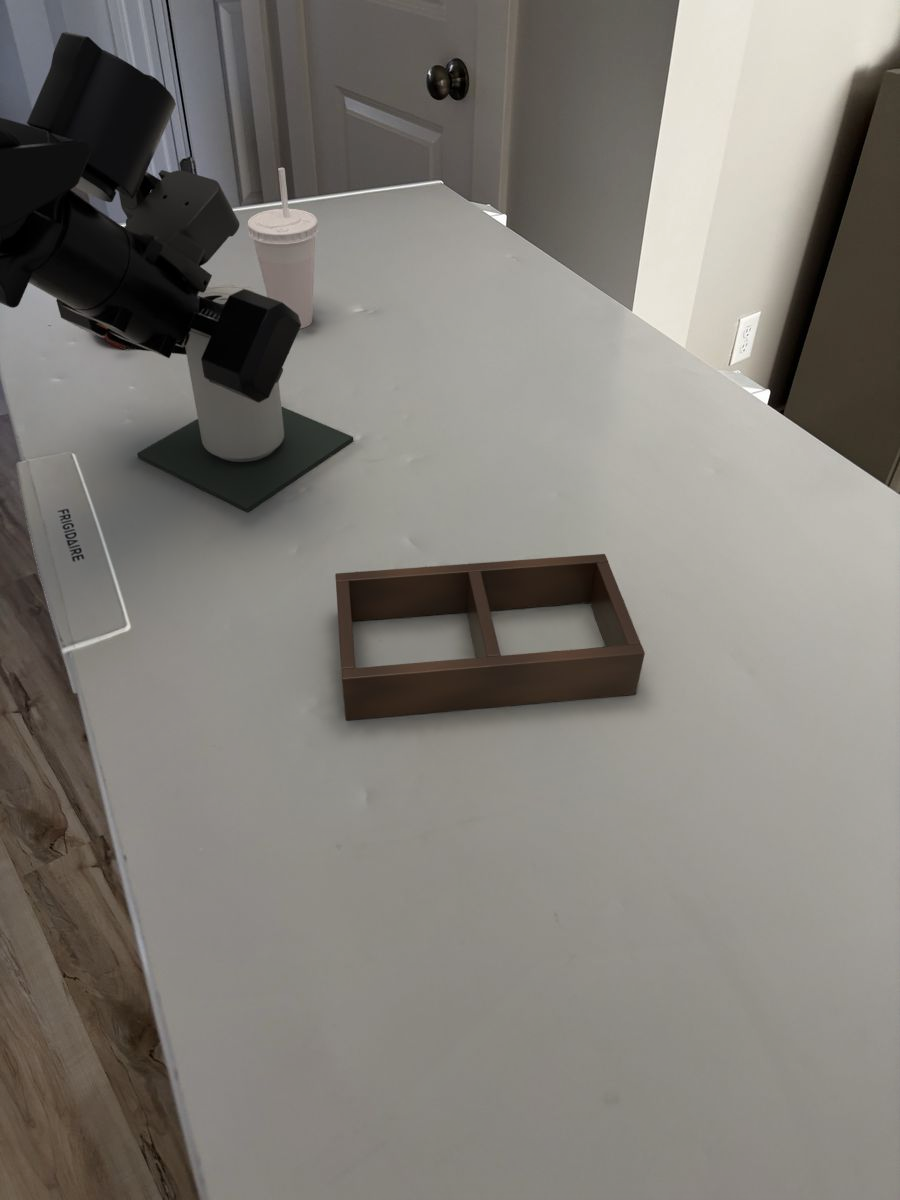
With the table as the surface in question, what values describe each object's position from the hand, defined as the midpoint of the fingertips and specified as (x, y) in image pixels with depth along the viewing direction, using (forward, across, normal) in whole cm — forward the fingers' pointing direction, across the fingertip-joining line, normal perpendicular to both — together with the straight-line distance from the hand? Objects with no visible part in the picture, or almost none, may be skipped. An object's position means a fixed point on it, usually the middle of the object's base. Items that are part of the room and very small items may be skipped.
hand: (246, 362), depth 70 cm
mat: (+4, 0, +6) cm, 7 cm away
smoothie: (+18, +12, -8) cm, 23 cm away
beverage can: (+4, 0, +6) cm, 7 cm away
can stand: (-2, -28, +12) cm, 30 cm away
